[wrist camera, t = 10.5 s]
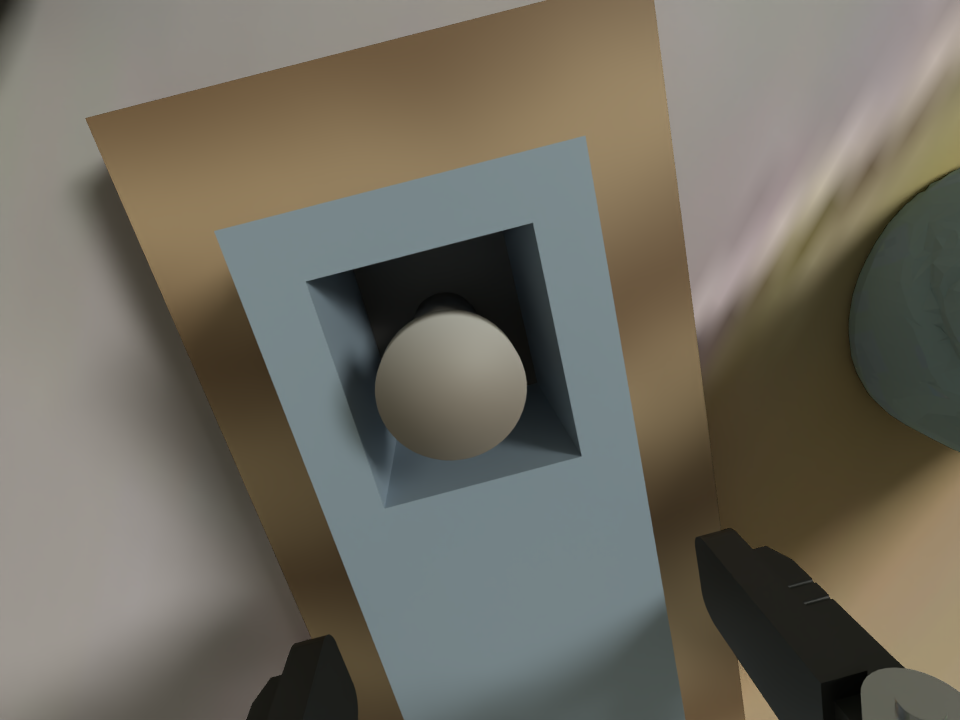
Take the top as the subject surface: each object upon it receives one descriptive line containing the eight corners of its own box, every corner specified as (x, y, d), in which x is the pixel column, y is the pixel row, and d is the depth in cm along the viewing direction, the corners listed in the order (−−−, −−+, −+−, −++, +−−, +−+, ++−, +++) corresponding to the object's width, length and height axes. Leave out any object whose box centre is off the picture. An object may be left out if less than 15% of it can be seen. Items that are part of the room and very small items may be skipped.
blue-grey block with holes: (290, 225, 11) (214, 231, 7) (533, 162, 11) (585, 135, 7) (485, 791, 16) (500, 968, 12) (651, 746, 16) (717, 909, 12)
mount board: (140, 133, 12) (-216, 34, 6) (617, 11, 12) (830, -229, 6) (414, 804, 19) (403, 1122, 12) (720, 721, 19) (873, 991, 13)
